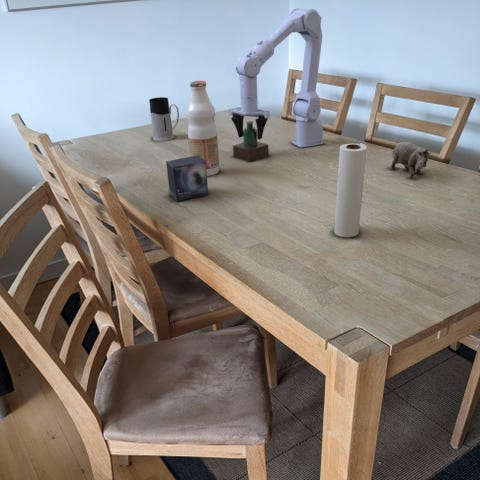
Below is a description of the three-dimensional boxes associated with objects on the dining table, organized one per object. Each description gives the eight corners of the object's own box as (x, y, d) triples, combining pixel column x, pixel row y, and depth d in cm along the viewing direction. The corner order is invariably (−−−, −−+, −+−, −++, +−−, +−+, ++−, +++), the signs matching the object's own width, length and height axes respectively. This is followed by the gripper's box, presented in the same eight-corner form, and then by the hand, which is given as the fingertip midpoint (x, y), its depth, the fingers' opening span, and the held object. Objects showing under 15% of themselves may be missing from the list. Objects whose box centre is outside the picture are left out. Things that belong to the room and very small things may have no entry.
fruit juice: (191, 177, 166) (181, 85, 150) (192, 168, 174) (183, 80, 158) (219, 176, 166) (213, 83, 150) (219, 167, 174) (213, 78, 158)
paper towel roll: (342, 240, 123) (349, 151, 111) (329, 230, 128) (334, 145, 115) (367, 233, 125) (376, 146, 113) (353, 225, 130) (361, 140, 118)
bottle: (254, 142, 183) (253, 119, 178) (259, 145, 179) (259, 122, 174) (241, 144, 181) (240, 121, 177) (246, 147, 177) (245, 124, 173)
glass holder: (163, 134, 213) (158, 96, 205) (188, 138, 206) (184, 99, 198) (148, 139, 208) (142, 100, 199) (174, 143, 201) (169, 103, 192)
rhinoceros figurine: (405, 155, 167) (423, 123, 153) (422, 189, 163) (442, 159, 149) (384, 160, 166) (400, 128, 152) (400, 194, 161) (418, 165, 147)
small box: (176, 202, 149) (172, 166, 143) (169, 195, 153) (164, 161, 148) (209, 194, 152) (206, 160, 146) (200, 188, 157) (197, 154, 151)
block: (251, 151, 187) (251, 140, 185) (268, 155, 182) (268, 144, 179) (233, 156, 183) (232, 145, 181) (249, 161, 177) (249, 150, 175)
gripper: (224, 97, 171) (227, 139, 179) (262, 100, 165) (263, 142, 173) (234, 93, 176) (236, 133, 184) (272, 96, 170) (272, 137, 178)
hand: (250, 137), depth 179 cm, fingers open, 7 cm apart
